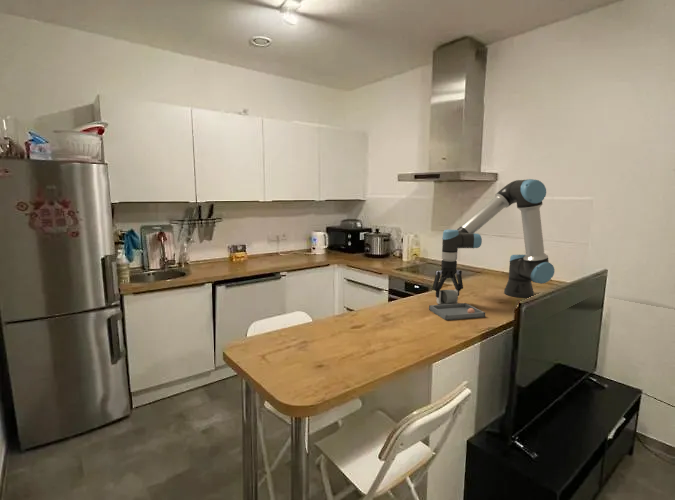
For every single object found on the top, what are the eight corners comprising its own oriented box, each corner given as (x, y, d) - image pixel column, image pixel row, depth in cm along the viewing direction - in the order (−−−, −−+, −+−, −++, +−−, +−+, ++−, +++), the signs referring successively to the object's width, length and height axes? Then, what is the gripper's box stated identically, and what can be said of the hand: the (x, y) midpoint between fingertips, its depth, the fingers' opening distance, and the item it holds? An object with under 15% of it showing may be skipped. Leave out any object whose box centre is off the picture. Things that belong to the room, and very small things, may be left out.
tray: (465, 307, 187) (465, 302, 186) (485, 317, 171) (485, 312, 171) (429, 309, 182) (429, 305, 182) (445, 320, 167) (446, 315, 166)
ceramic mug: (458, 304, 191) (459, 290, 190) (447, 306, 187) (447, 291, 186) (443, 299, 200) (444, 285, 199) (432, 301, 196) (432, 287, 195)
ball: (467, 314, 174) (473, 311, 175) (471, 317, 171) (477, 313, 172) (465, 309, 174) (470, 306, 174) (469, 311, 171) (475, 308, 171)
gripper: (464, 258, 195) (461, 299, 199) (426, 259, 190) (424, 302, 194) (472, 260, 188) (469, 303, 191) (433, 262, 183) (431, 306, 186)
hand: (447, 302), depth 193 cm, fingers closed on ceramic mug, 9 cm apart
